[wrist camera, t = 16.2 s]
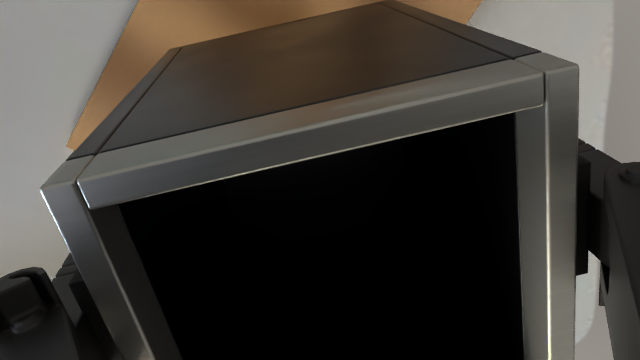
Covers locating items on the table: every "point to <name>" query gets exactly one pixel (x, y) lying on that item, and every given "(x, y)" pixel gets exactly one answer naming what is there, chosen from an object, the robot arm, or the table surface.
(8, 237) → the table surface
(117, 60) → the wooden board
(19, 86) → the table surface
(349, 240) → the desk bin
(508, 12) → the table surface
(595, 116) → the table surface
